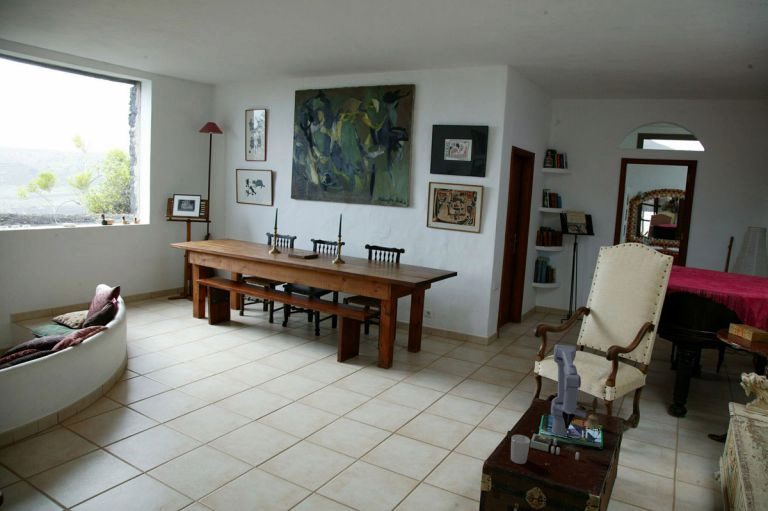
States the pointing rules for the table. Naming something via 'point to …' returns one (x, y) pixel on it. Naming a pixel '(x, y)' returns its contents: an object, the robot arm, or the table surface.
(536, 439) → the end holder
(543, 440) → the connector block
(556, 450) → the clip
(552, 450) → the clip
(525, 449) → the white cup
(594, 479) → the table surface
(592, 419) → the hand bell
